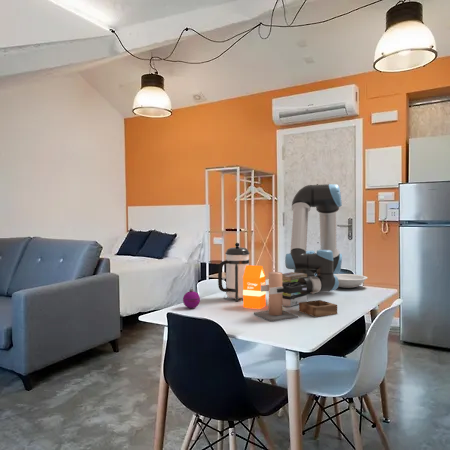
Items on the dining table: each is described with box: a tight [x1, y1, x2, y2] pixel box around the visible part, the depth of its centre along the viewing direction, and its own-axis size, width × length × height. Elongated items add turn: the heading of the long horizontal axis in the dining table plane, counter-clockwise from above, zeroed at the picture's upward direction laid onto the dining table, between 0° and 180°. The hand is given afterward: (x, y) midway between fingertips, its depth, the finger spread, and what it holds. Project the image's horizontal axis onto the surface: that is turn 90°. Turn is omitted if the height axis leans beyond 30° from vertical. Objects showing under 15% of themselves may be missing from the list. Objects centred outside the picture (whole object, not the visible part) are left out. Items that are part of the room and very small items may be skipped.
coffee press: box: [217, 242, 250, 303], centre depth 210 cm, size 17×16×30 cm
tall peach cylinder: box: [268, 271, 284, 316], centre depth 174 cm, size 6×6×18 cm
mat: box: [253, 309, 299, 322], centre depth 174 cm, size 14×14×1 cm
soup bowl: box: [334, 273, 368, 289], centre depth 242 cm, size 24×24×7 cm
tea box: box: [282, 271, 308, 307], centre depth 200 cm, size 15×10×15 cm, turn 137°
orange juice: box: [242, 264, 267, 310], centre depth 193 cm, size 8×9×20 cm
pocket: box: [298, 299, 338, 318], centre depth 180 cm, size 12×12×4 cm
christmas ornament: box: [182, 287, 201, 309], centre depth 191 cm, size 8×8×10 cm
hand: (265, 289), depth 172 cm, fingers open, 6 cm apart
